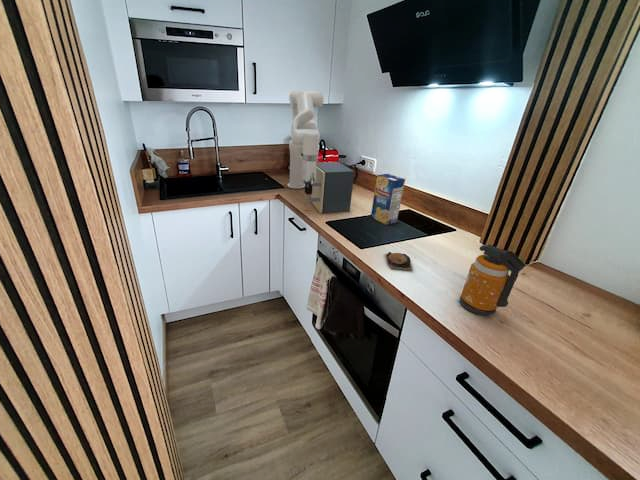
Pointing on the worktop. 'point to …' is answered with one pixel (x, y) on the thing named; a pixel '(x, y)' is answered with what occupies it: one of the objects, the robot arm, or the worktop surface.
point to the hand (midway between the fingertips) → (308, 193)
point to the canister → (490, 280)
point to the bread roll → (398, 261)
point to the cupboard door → (318, 190)
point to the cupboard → (336, 187)
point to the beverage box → (387, 198)
